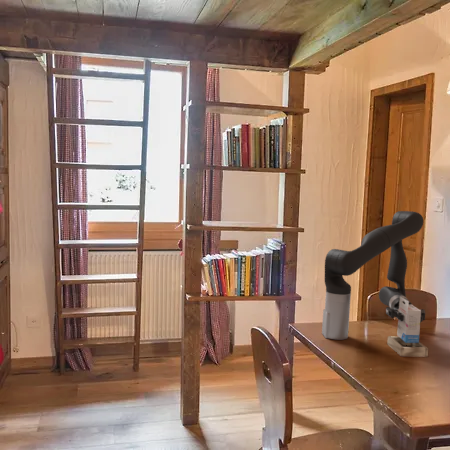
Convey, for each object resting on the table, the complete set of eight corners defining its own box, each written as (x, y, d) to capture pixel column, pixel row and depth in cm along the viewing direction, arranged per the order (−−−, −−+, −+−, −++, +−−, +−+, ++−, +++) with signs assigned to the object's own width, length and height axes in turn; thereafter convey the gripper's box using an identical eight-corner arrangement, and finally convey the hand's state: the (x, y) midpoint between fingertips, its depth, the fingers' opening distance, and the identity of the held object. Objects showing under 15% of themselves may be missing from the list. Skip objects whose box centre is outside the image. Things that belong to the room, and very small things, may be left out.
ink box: (419, 343, 176) (422, 301, 174) (405, 343, 176) (408, 301, 174) (410, 335, 184) (412, 295, 182) (396, 335, 184) (399, 295, 182)
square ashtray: (400, 356, 174) (401, 347, 173) (387, 344, 186) (387, 336, 186) (427, 356, 174) (428, 348, 174) (412, 344, 186) (413, 336, 186)
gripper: (382, 295, 194) (390, 307, 177) (421, 298, 192) (433, 310, 175) (380, 314, 194) (389, 328, 178) (419, 317, 193) (431, 331, 176)
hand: (411, 319), depth 176 cm, fingers closed on ink box, 5 cm apart
